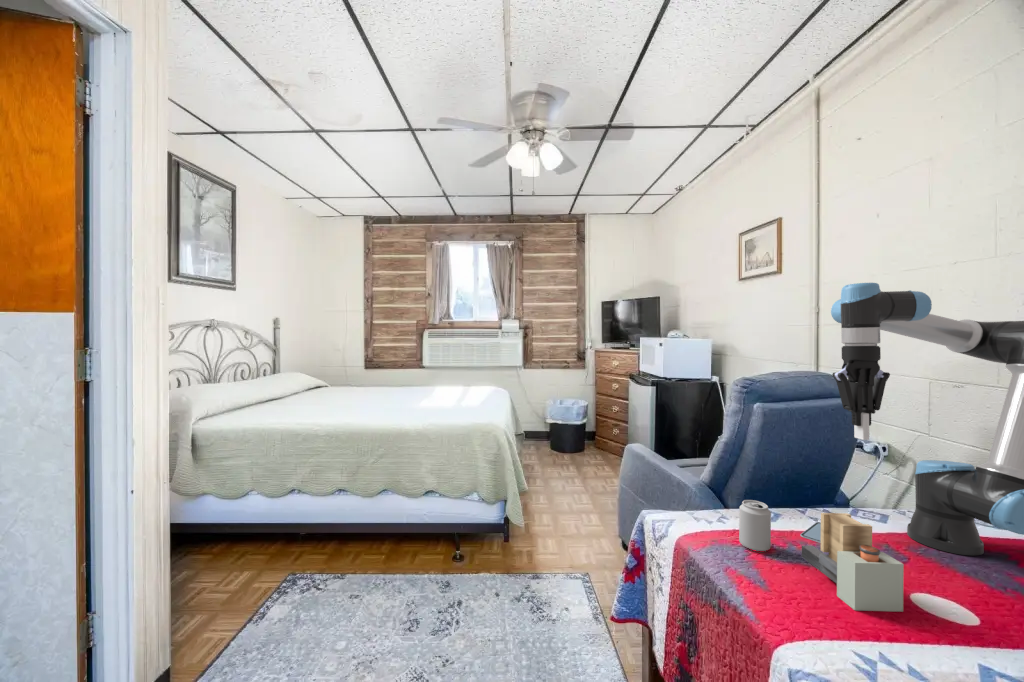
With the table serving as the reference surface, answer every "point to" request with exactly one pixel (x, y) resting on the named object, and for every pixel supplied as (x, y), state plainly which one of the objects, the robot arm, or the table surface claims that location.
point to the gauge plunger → (869, 553)
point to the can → (755, 525)
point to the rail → (812, 556)
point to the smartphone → (813, 532)
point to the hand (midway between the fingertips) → (861, 438)
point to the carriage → (840, 539)
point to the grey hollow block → (870, 582)
